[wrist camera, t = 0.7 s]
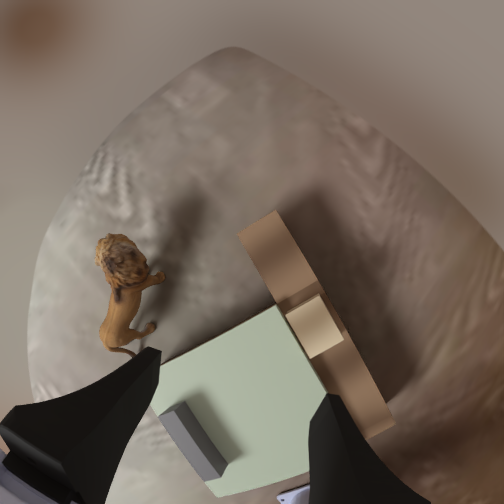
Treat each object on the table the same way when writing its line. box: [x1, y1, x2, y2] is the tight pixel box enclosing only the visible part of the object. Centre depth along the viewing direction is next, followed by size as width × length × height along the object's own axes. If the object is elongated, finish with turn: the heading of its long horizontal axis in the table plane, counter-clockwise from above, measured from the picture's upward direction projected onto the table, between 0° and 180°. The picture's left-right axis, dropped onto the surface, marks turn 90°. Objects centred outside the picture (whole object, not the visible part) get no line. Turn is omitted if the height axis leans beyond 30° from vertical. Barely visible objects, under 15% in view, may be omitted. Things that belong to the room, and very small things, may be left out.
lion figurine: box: [95, 233, 165, 358], centre depth 30 cm, size 15×5×9 cm, turn 173°
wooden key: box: [285, 293, 344, 359], centre depth 24 cm, size 4×3×2 cm
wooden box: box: [160, 210, 396, 440], centre depth 29 cm, size 23×20×5 cm
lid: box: [150, 304, 328, 498], centre depth 24 cm, size 16×16×4 cm
